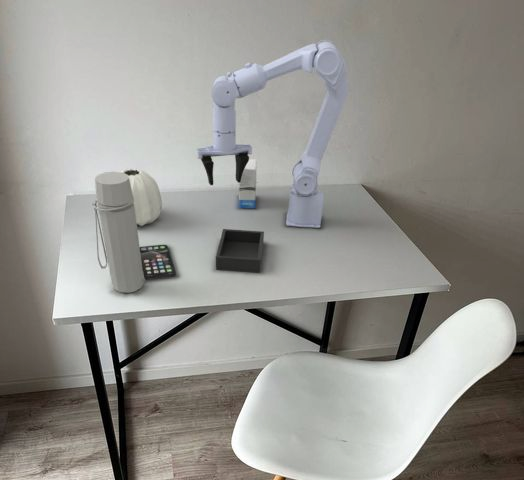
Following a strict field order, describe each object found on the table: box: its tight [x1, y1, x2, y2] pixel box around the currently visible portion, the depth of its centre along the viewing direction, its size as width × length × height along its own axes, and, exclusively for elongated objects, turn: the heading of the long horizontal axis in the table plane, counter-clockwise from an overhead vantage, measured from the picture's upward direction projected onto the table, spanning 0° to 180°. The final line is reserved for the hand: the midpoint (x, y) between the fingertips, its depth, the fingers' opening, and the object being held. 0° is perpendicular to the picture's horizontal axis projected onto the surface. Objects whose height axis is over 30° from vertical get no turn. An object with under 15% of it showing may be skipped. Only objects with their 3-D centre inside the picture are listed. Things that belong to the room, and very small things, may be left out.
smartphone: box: [140, 244, 177, 280], centre depth 125 cm, size 7×1×15 cm
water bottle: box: [91, 171, 145, 294], centre depth 109 cm, size 9×8×25 cm
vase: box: [120, 168, 163, 227], centre depth 138 cm, size 14×14×13 cm
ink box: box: [238, 158, 257, 209], centre depth 150 cm, size 9×5×12 cm, turn 179°
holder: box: [215, 228, 265, 274], centre depth 128 cm, size 11×15×4 cm
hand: (224, 182), depth 139 cm, fingers open, 7 cm apart
